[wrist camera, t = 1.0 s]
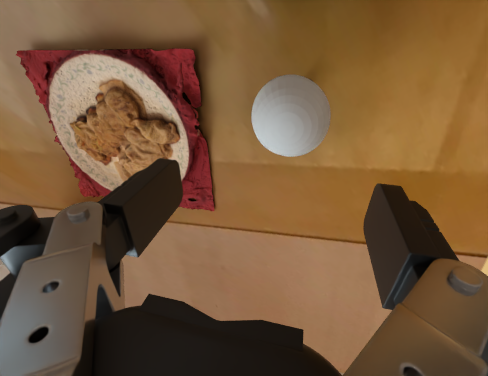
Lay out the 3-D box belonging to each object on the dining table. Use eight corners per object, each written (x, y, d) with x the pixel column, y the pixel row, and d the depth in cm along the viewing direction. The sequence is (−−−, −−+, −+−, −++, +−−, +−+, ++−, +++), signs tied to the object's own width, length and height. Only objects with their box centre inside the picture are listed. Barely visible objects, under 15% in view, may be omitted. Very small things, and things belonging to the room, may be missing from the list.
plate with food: (28, 49, 35) (2, 51, 32) (197, 48, 29) (184, 50, 26) (88, 191, 48) (74, 201, 45) (214, 210, 42) (206, 223, 39)
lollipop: (333, 100, 29) (347, 150, 17) (287, 123, 32) (270, 181, 19) (310, 47, 27) (307, 60, 14) (263, 77, 30) (227, 110, 17)
